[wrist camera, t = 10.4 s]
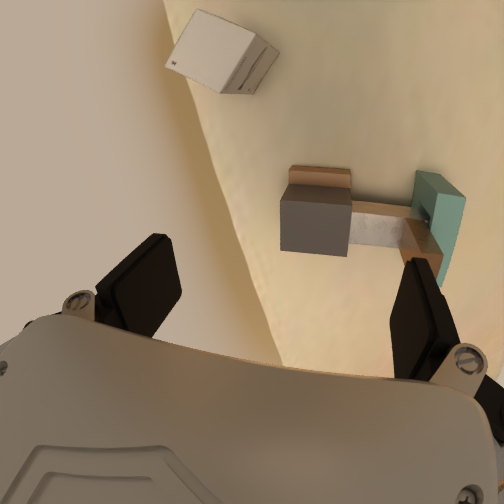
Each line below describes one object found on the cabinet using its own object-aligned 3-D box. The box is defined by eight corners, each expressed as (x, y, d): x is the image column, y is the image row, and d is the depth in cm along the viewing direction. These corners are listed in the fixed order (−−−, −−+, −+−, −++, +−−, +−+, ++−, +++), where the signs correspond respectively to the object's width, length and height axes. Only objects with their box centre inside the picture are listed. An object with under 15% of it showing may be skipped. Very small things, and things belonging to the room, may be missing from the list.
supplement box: (253, 96, 35) (218, 97, 24) (209, 71, 34) (160, 66, 24) (282, 53, 31) (258, 33, 20) (235, 29, 30) (194, 7, 20)
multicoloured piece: (330, 198, 35) (327, 243, 25) (433, 210, 32) (465, 257, 22) (328, 227, 37) (323, 279, 27) (427, 237, 34) (453, 291, 24)
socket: (416, 170, 34) (437, 192, 26) (440, 174, 33) (466, 197, 25) (403, 247, 40) (415, 285, 32) (425, 250, 39) (441, 287, 31)
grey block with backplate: (291, 165, 39) (280, 184, 31) (349, 169, 37) (353, 190, 29) (291, 230, 44) (280, 263, 36) (344, 235, 42) (344, 269, 34)
